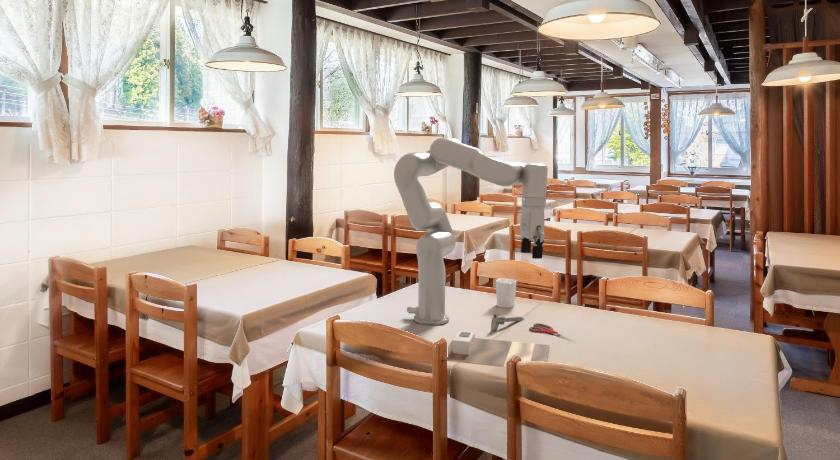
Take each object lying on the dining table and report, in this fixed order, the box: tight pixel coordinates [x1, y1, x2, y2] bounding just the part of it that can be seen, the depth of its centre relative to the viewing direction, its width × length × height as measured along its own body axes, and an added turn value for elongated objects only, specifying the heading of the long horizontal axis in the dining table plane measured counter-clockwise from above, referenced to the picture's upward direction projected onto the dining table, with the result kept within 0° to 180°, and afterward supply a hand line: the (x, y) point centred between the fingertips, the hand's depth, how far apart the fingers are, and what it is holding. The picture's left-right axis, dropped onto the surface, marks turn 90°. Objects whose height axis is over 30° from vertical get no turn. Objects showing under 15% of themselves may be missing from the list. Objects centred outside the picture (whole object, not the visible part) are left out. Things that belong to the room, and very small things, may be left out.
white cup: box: [495, 277, 517, 309], centre depth 228 cm, size 8×8×10 cm
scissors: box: [528, 322, 577, 344], centre depth 195 cm, size 8×21×2 cm, turn 44°
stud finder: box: [452, 330, 476, 355], centre depth 178 cm, size 5×9×4 cm, turn 165°
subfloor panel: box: [446, 336, 550, 368], centre depth 176 cm, size 30×22×1 cm
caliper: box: [490, 313, 524, 332], centre depth 203 cm, size 20×1×6 cm, turn 141°
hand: (531, 255), depth 189 cm, fingers open, 9 cm apart
